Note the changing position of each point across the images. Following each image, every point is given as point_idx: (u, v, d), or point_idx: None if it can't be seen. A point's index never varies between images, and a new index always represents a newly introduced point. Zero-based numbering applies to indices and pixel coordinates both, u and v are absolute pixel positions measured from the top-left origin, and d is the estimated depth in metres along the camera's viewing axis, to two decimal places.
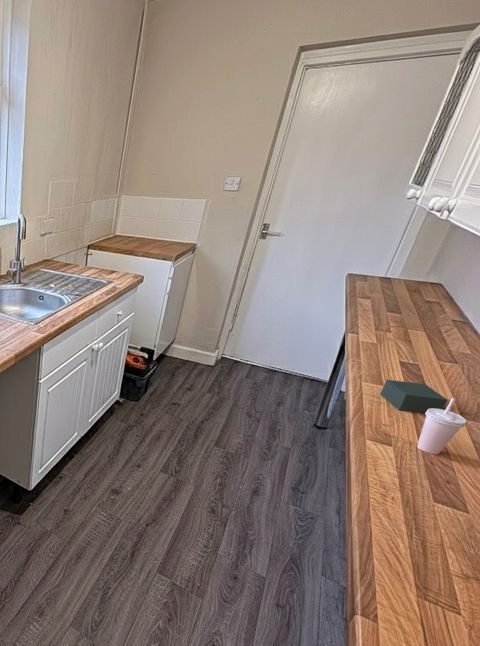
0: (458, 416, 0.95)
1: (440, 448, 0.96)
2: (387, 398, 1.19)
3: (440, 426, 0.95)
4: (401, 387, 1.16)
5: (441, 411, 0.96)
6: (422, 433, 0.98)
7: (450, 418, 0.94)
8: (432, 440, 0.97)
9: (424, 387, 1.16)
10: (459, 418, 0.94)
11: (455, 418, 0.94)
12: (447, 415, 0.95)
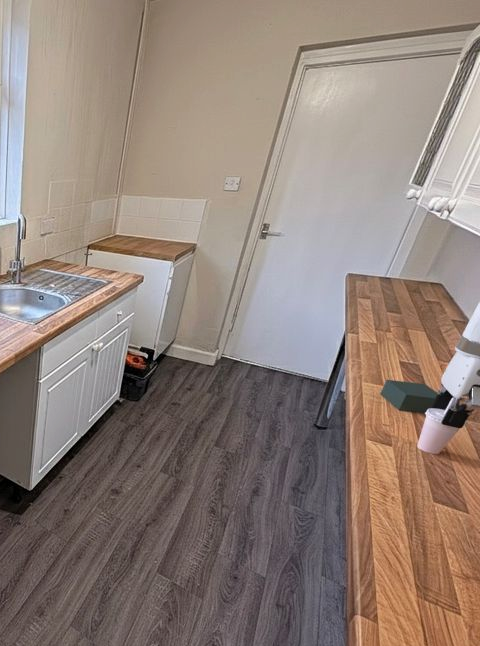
0: None
1: (440, 448, 0.96)
2: (387, 398, 1.19)
3: (440, 425, 0.95)
4: (401, 387, 1.16)
5: (441, 411, 0.97)
6: (422, 433, 0.98)
7: None
8: (432, 440, 0.97)
9: (424, 387, 1.16)
10: None
11: None
12: None
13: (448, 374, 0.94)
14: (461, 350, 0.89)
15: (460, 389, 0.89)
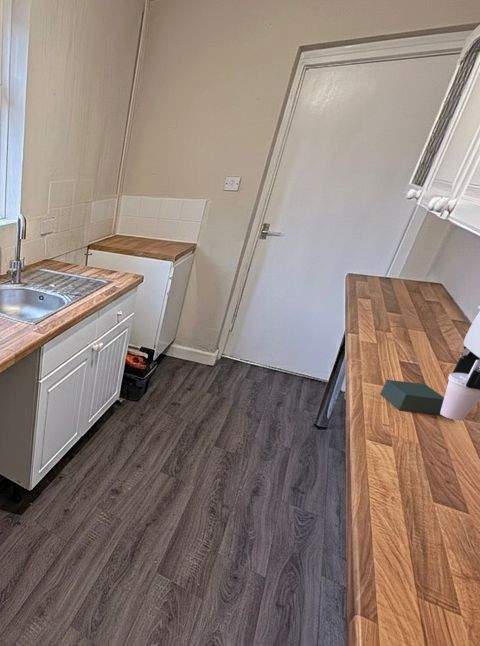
0: None
1: (465, 414, 0.92)
2: (387, 398, 1.19)
3: (464, 389, 0.90)
4: (401, 387, 1.16)
5: (464, 375, 0.92)
6: (445, 399, 0.94)
7: None
8: (456, 405, 0.92)
9: (424, 387, 1.16)
10: None
11: None
12: None
13: (471, 334, 0.90)
14: None
15: None
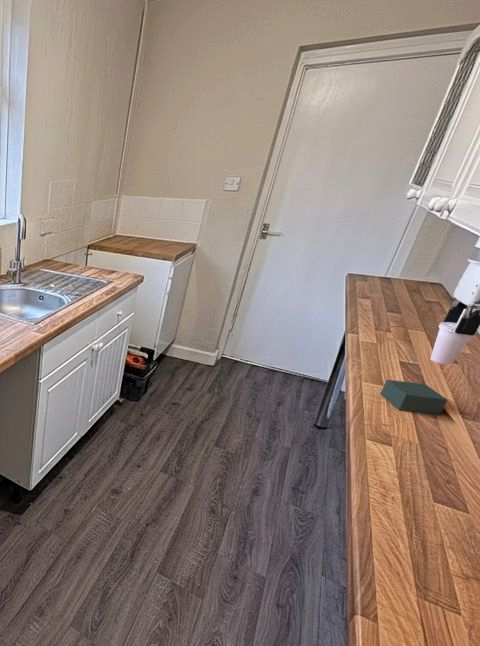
0: None
1: (452, 358, 1.03)
2: (387, 398, 1.19)
3: (453, 335, 1.01)
4: (401, 387, 1.16)
5: (453, 323, 1.03)
6: (435, 346, 1.05)
7: None
8: (445, 350, 1.03)
9: (424, 387, 1.16)
10: None
11: None
12: None
13: (461, 286, 1.00)
14: (474, 260, 0.95)
15: (473, 296, 0.95)
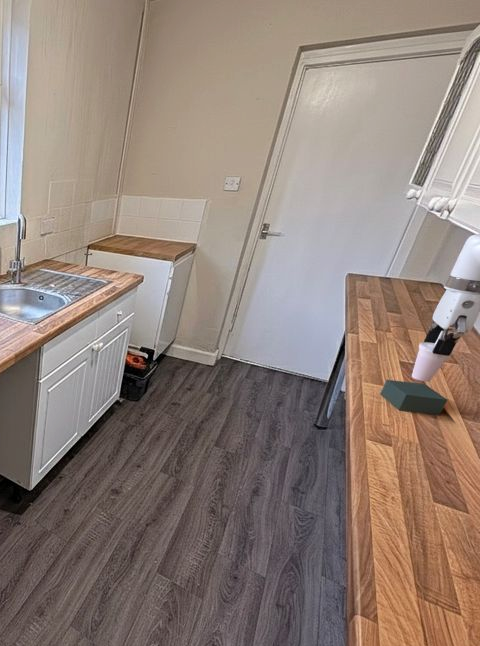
0: None
1: (431, 376, 1.12)
2: (387, 398, 1.19)
3: (431, 355, 1.10)
4: (401, 387, 1.16)
5: (432, 344, 1.12)
6: (415, 364, 1.14)
7: None
8: (424, 368, 1.12)
9: (424, 387, 1.16)
10: None
11: None
12: None
13: (438, 310, 1.09)
14: (449, 287, 1.04)
15: (448, 320, 1.04)
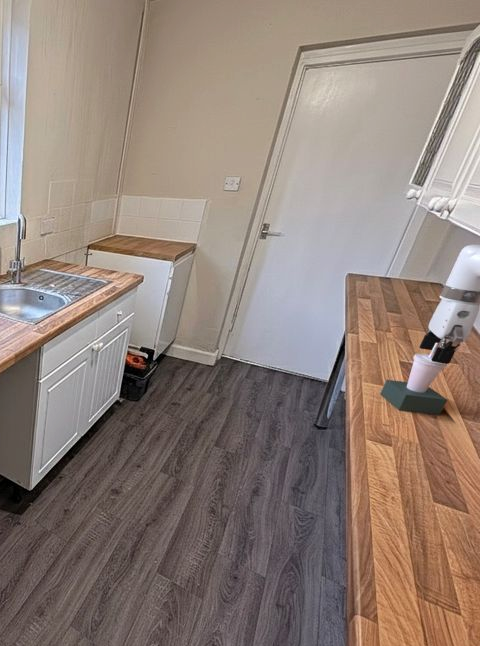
0: None
1: (426, 387, 1.13)
2: (387, 398, 1.19)
3: (425, 366, 1.11)
4: (401, 387, 1.16)
5: (426, 355, 1.13)
6: (410, 375, 1.15)
7: None
8: (418, 380, 1.13)
9: None
10: None
11: None
12: (431, 358, 1.11)
13: (434, 319, 1.10)
14: (444, 297, 1.05)
15: (443, 330, 1.05)
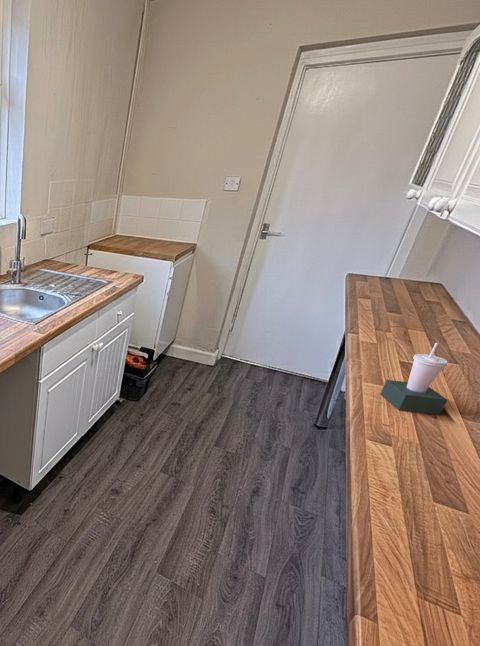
0: (440, 359, 1.11)
1: (426, 387, 1.13)
2: (387, 398, 1.19)
3: (425, 366, 1.11)
4: (401, 387, 1.16)
5: (426, 355, 1.13)
6: (410, 375, 1.15)
7: (434, 360, 1.10)
8: (418, 380, 1.13)
9: None
10: (441, 360, 1.11)
11: (438, 360, 1.11)
12: (431, 358, 1.11)
13: None
14: None
15: None
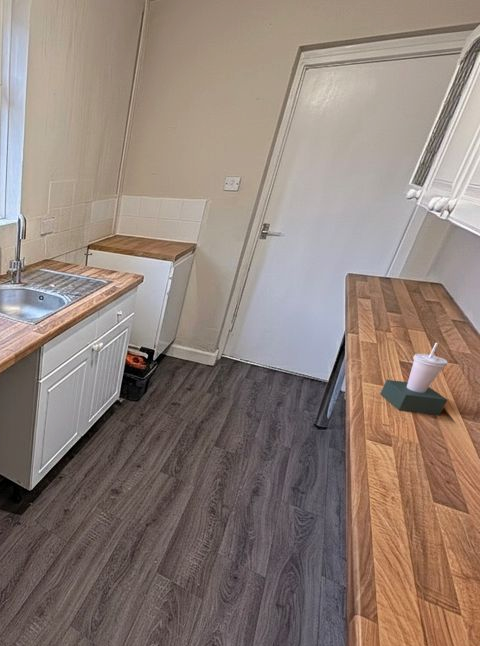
0: (440, 359, 1.11)
1: (426, 387, 1.13)
2: (387, 398, 1.19)
3: (425, 366, 1.11)
4: (401, 387, 1.16)
5: (426, 355, 1.13)
6: (410, 375, 1.15)
7: (434, 360, 1.10)
8: (418, 380, 1.13)
9: None
10: (441, 360, 1.11)
11: (438, 360, 1.11)
12: (431, 358, 1.11)
13: None
14: None
15: None
